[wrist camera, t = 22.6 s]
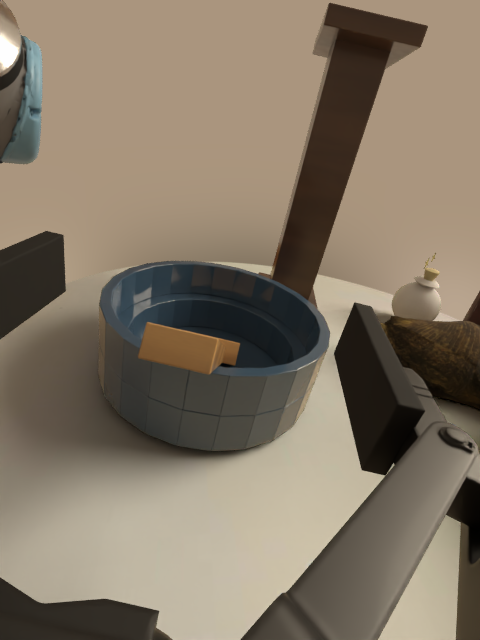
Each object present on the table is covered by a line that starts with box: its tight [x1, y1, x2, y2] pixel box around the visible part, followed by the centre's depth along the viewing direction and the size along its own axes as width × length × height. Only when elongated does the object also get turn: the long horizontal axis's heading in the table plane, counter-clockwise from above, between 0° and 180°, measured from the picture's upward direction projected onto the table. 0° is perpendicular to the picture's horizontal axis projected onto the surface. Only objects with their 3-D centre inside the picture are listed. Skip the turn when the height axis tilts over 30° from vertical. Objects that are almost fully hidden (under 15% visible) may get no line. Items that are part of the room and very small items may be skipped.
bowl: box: [98, 261, 330, 451], centre depth 29 cm, size 18×18×7 cm
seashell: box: [381, 316, 480, 409], centre depth 37 cm, size 16×9×7 cm, turn 80°
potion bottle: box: [392, 253, 441, 321], centre depth 48 cm, size 6×7×10 cm
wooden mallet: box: [138, 322, 240, 375], centre depth 22 cm, size 21×4×2 cm
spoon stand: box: [259, 3, 428, 308], centre depth 40 cm, size 12×8×29 cm, turn 174°
